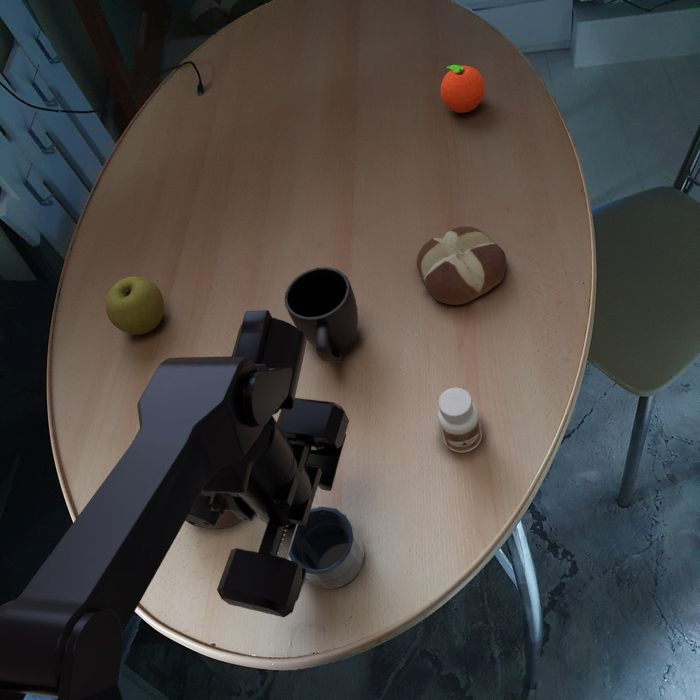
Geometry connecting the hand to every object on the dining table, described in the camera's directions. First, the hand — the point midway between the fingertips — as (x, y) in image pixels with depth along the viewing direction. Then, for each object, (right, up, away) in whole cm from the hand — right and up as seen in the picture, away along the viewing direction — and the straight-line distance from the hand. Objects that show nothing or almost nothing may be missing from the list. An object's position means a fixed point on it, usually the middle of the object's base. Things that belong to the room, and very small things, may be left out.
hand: (313, 532), depth 65 cm
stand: (-11, +1, +14) cm, 18 cm away
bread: (+19, +28, +24) cm, 41 cm away
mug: (+2, +18, +22) cm, 28 cm away
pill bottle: (+16, +8, +11) cm, 21 cm away
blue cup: (+2, -4, +6) cm, 8 cm away
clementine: (+22, +57, +44) cm, 75 cm away
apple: (-26, +22, +33) cm, 47 cm away
